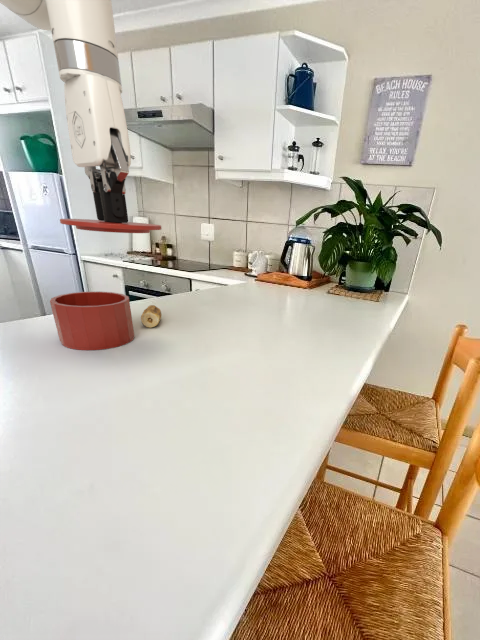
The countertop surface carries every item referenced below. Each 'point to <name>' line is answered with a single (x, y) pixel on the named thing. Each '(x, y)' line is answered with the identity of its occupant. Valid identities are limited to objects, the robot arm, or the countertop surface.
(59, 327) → the pot
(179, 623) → the countertop surface
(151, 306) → the tan cylinder with hole
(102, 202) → the lid
